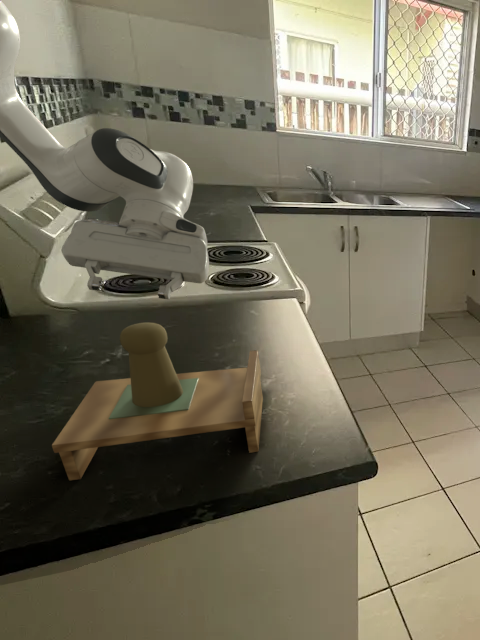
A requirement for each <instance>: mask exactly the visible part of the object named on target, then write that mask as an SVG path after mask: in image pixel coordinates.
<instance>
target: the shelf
mask: <svg viewBox="0 0 480 640" xmlns="http://www.w3.org/2000/svg"><path fill="white" fill-rule="evenodd" d="M259 354H260V353H259V350H258V349H256V350H249V354H248V360H247V367H238V368H225V369H214V370H204V371H193V372H182V373H176V375H177V377H178V380H179V382H180V384H181V387H182V389H183V394H182V395H181V396H180V397H179V398H178V399H177V400H175V401H173V402H171V403H168V404H165V405H161V406H156V407H140V406H137V405H135V404H134V403H133V402H132V390H131V378H130V377H128V378H119V379H108V380H107V379H106V380H96V381H94V383H93V384H92V386H91V387H90V389H89V390H88V391H87V393H86V395H85V396H84V398H83V399H82V401H81V402H80V404H79V405H78V406H77V408H76V409H75V411H74V412H73V414H72V415H71V417H70V418H69V419H68V420H67V422H66V423H65V425H64V426H63V428H62V430H61V431H60V433H59V434H58V435H57V437H56V438H55V440H54V441H53V442H52V444H51V448H52V450H53V453H54V454H59V456H60V459H61V462H62V465H63V467H64V470H65V473H66V476H67V478H68V481H77V480H81V479H82V477H83V476H84V474H85V472H86V470H87V469H88V466H89V465H90V463H91V462H92V459H93V457H94V456H95V454H96V452H97V450H98V448H101V447H109V446H117V445H124V444H125V445H126V444H133V443H138V442H146V441H147V442H148V441H154V440H155V441H156V440H161V439H168V438H169V439H170V438H177V437H183V436H191V435H198V434H199V435H200V434H205V433H213V432H221V431H227V430H235V429H243V428H244V430H245V435H246V441H247V448H248V453H250V454H252V453H258V452H259V451H260V450H259V449H260V439H261V438H260V437H261V425H262V412H263V402H264V401H263V400H264V397H263V390H262V382H261V375H262V369H261V362H260V356H259Z"/></svg>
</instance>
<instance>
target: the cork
mask: <svg viewBox="0 0 480 640" xmlns="http://www.w3.org/2000/svg"><path fill="white" fill-rule="evenodd" d="M119 342H120V345H121V347H122V349H123V350H125V351H126V352H127V353H128V365H129V378H131V390H132V402H133V403H134V404H135V405H137V406H140V407H156V406H161V405H165V404H168V403H171V402H173V401H175V400H177V399H178V398H179V397H180V396H181V395H182V394H183V389H182V387H181V384H180V382H179V380H178V377H177V375H176V374H177V372H176V370H175V368H174V365H173V362H172V360H171V357H170V355H169V353H168V350H167V348H166V344H167V343H168V333H167V330H166V329H165V327H163V326H162V325H161V324H159V323H156V322H139V323H138V322H137V323H134V324H131V325H128V326H127V327H125V328H123V329H122V330H121V332H120V334H119Z"/></svg>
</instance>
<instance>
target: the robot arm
mask: <svg viewBox="0 0 480 640" xmlns="http://www.w3.org/2000/svg"><path fill="white" fill-rule="evenodd" d="M20 51H21V35H20V29H19V26H18V23H17V20H16V19H15V17H14V16H13V14H12V12H11V11H10V10H9V8H8V7H7V5H6V4H5V3H4V2H3V0H0V138H1V139H2V140H3V142H5V143H6V144H7V146H8V147H10V149H11V150H12V151H13V152H14V153H15V154H16V155H17V156H18V157H19V158H20V159H21V160H22V161H23V163H24V164H26V165H27V167H28V168H29V170H30V171H31V172H32V174H33V175H34V177H35V178H36V179H37V181H38V182H39V184H40V185H41V187H42V188H43V189H44V190H45V192H46V193H47V194H48V195H49V196H50V197H51V198H53V199H54V200H55V201H57V202H58V203H60V204H61V205H63V206H65V207H68V208H70V209H73V210H76V211H80V212H88V213H90V212H97V211H99V210H101V209H103V208H104V207H106V206H107V205H109V204H110V203H112V202H114V200H115V199H117V198H119V197H121V198H123V200H124V201H125V206H124V208H123V211H122V214H121V216H120V219H119V222H115V221H109V220H100V219H98V218H94V217H93V218H92V217H90V218H87V219H81V220H77V221H75V222H74V223H73V225H72V228H71V231H70V233H69V235H68V236H67V237H66V239H65V241H64V243H63V245H62V247H61V249H60V250H61V254H62V256H63V259H64V260H65V261H66V262H67V263H68V264H69V265H70V266H72V267H75V268H76V267H78V268H83V269H86V271H87V273H88V277H89V279H88V281H87V282H86V283H87V285H86V286H87V288H88V290H90V291H98V292H101V291H102V290H103V287H104V285H105V282H104V280H103V278H102V277H101V276H96V275H99V274H100V273H101V271H106V272H114V273H120V274H121V273H122V274H127V275H134V276H143V277H148V278H149V277H150V278H158V279H163V280H170V281H169V282H168V283H167V284H166V285H161V284H160V285H159V287H158V291H157V296H158V299H163V300H170V299H171V295H172V293H173V292H175V291H176V290H177V289H178V288H180V287H182V284H183V282H185V283H186V282H187V283H193V284H203V283H204V282H206V281H207V280H208V279H209V274H210V273H209V272H210V257H209V251H208V237H207V234H206V230H205V228H204V227H203V226H201V225H199V224H198V223H195V222H193V221H191V220H188V219H186V218H185V217H184V216H185V214H186V213H187V211H188V210H189V207H190V204H191V201H192V196H193V191H194V179H193V178H194V177H193V174H192V170H191V168H190V167H189V166H188V164H187V163H186V161H184V160H183V159H182V158H180V157H178V156H177V155H175V154H174V153H170V152H168V151H163V150H155V149H152V148H150V147H148V146H147V145H146V144H144V143H143V142H141V141H140V140H138V139H137V138H135V137H134V136H132V135H131V134H129V133H127V132H125V131H122V130H119V129H115V128H111V127H110V128H109V127H104V128H99V129H97V130H96V131H93V132H91V133H89V134H88V135H86V136H84V137H83V138H81V139H79V140H78V141H77V142H75V143H74V144H72V145H70V146H68V147H66V146H64V145H62V144H61V143H60V142H59V141H58V139H56V138H55V137H54V135H53V134H52V132H50V131H49V130H48V128H46V126H45V125H44V124H43V123H42V122H41V121H40V120H39V118H38V117H37V116H36V115H35V114H34V113H33V112H32V111H31V110H30V109H29V107H28V106H27V105H26V104H25V102H24V101H23V100H22V98H21V96H20V95H19V92H18V90H17V87H16V83H15V72H16V71H15V70H16V64H17V61H18V58H19V54H20Z"/></svg>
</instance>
